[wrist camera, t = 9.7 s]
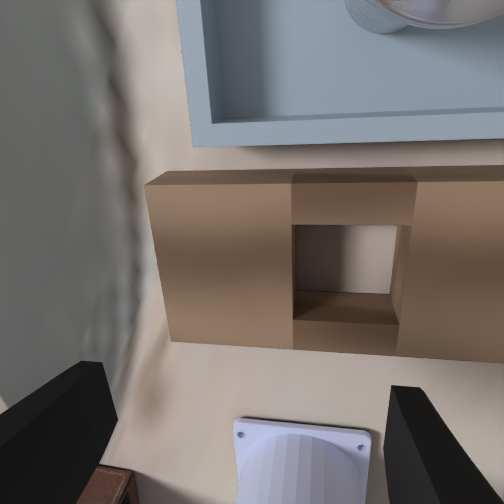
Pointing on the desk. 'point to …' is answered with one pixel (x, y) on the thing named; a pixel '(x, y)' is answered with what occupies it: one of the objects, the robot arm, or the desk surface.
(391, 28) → the steel pin
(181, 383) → the desk surface
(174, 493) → the desk surface
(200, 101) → the tray
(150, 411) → the desk surface
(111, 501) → the letter holder
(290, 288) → the brown flat block
